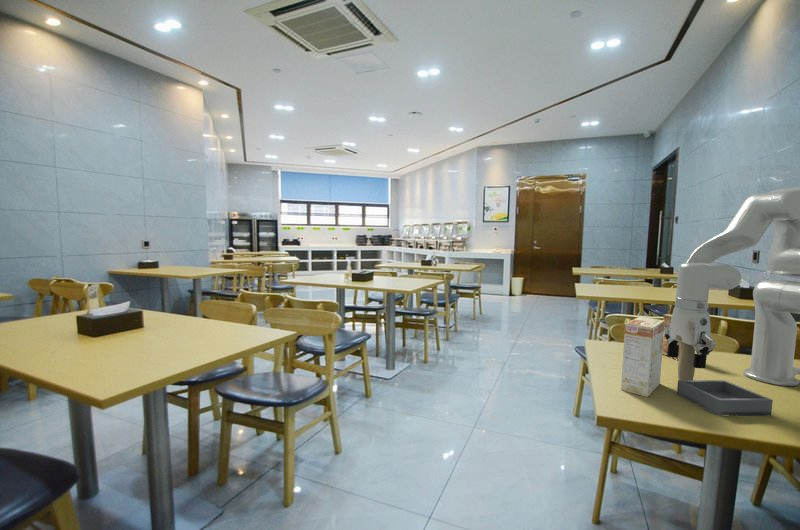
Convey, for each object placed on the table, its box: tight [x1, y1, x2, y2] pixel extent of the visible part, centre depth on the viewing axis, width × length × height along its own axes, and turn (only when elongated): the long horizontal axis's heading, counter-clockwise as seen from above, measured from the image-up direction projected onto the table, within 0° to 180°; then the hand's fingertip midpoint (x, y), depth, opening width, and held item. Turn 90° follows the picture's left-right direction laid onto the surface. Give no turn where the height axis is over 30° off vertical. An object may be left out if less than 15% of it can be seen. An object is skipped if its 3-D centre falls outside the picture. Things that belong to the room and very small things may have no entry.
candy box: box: [662, 314, 681, 361], centre depth 142 cm, size 9×4×15 cm, turn 6°
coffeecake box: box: [620, 316, 665, 398], centre depth 111 cm, size 15×7×20 cm, turn 134°
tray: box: [676, 379, 774, 417], centre depth 101 cm, size 14×13×4 cm
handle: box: [675, 335, 696, 380], centre depth 113 cm, size 5×6×15 cm
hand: (685, 362), depth 113 cm, fingers open, 9 cm apart
